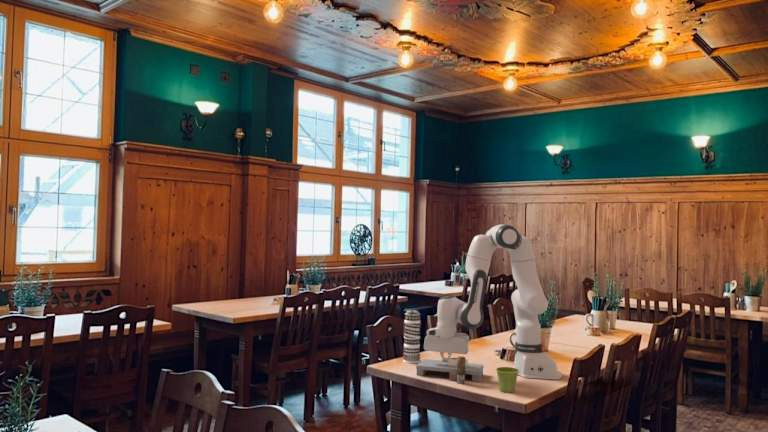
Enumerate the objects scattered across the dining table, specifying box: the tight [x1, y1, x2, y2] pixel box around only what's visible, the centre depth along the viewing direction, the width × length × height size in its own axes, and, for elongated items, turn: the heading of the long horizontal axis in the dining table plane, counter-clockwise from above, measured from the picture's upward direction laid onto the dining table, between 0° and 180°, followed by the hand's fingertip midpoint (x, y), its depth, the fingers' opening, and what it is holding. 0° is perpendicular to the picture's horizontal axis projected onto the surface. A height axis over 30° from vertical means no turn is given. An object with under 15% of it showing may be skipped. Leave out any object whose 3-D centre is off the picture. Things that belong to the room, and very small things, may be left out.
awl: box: [456, 355, 466, 385], centre depth 246 cm, size 4×4×11 cm
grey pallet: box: [415, 358, 484, 382], centre depth 259 cm, size 28×18×4 cm, turn 72°
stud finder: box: [448, 356, 469, 367], centre depth 258 cm, size 8×4×3 cm, turn 72°
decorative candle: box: [402, 309, 422, 364], centre depth 284 cm, size 9×9×25 cm
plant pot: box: [495, 366, 519, 394], centre depth 236 cm, size 9×9×9 cm
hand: (445, 362), depth 260 cm, fingers closed
